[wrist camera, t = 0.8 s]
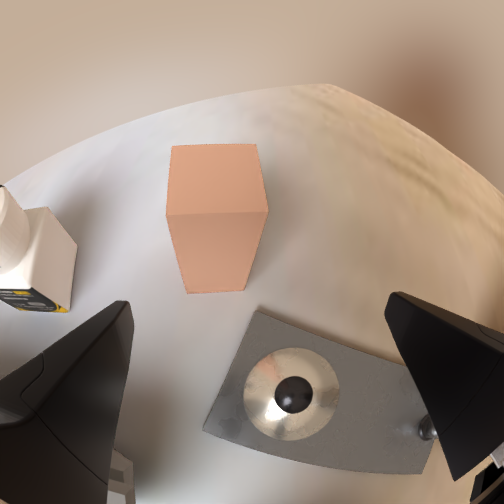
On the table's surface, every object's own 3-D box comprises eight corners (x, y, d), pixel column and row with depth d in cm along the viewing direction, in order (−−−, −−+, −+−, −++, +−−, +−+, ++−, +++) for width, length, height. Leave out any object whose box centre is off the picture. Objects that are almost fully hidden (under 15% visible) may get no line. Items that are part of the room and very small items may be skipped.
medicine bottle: (19, 310, 19) (-59, 261, 9) (29, 248, 22) (-30, 181, 12) (70, 313, 21) (-11, 257, 10) (79, 245, 24) (23, 165, 13)
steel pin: (433, 438, 18) (476, 440, 12) (418, 436, 18) (462, 440, 13) (439, 416, 19) (482, 414, 14) (425, 414, 19) (469, 413, 14)
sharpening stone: (-28, 433, 11) (-89, 428, 1) (-30, 374, 14) (-95, 353, 5) (166, 518, 13) (142, 585, 4) (164, 447, 17) (124, 495, 7)
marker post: (244, 290, 24) (268, 211, 13) (187, 293, 23) (165, 215, 13) (238, 240, 26) (255, 144, 16) (185, 242, 25) (171, 146, 15)
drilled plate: (417, 472, 17) (423, 474, 16) (202, 428, 18) (202, 431, 17) (445, 380, 22) (452, 379, 21) (254, 312, 23) (256, 309, 22)
